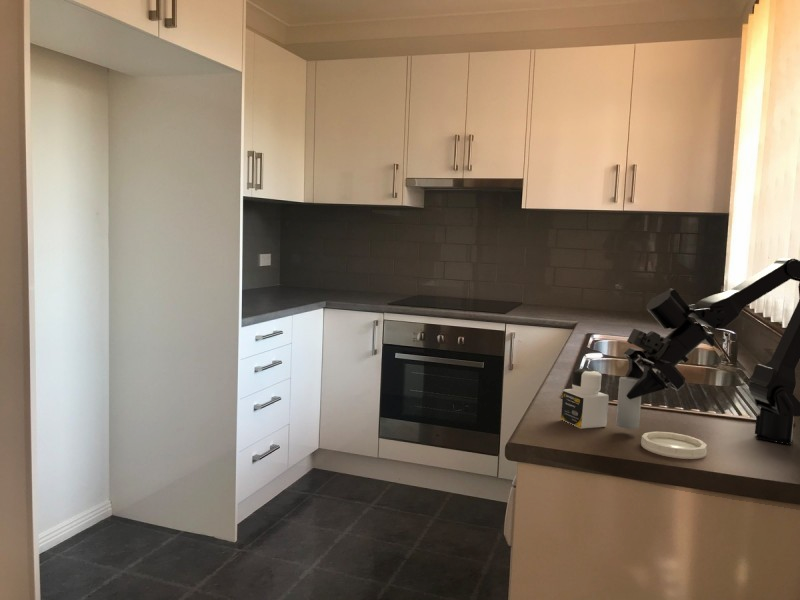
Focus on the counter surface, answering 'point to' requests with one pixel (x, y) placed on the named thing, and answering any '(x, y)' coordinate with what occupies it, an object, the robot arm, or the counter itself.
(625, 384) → the grey cylinder
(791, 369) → the robot arm
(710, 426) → the counter surface
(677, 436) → the saucer
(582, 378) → the medicine bottle
